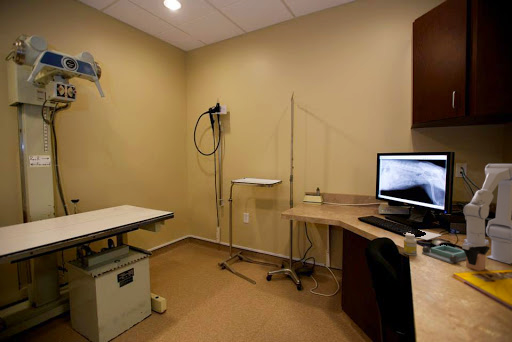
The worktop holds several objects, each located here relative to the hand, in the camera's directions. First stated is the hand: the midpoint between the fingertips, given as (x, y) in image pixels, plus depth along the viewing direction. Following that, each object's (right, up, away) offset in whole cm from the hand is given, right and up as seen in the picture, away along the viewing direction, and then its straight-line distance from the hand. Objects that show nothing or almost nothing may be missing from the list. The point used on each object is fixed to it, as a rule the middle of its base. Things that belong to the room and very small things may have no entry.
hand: (475, 263), depth 102 cm
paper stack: (+7, -1, +39) cm, 40 cm away
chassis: (-1, -1, +14) cm, 14 cm away
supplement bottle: (-17, -2, +17) cm, 24 cm away
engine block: (0, -2, 0) cm, 2 cm away
